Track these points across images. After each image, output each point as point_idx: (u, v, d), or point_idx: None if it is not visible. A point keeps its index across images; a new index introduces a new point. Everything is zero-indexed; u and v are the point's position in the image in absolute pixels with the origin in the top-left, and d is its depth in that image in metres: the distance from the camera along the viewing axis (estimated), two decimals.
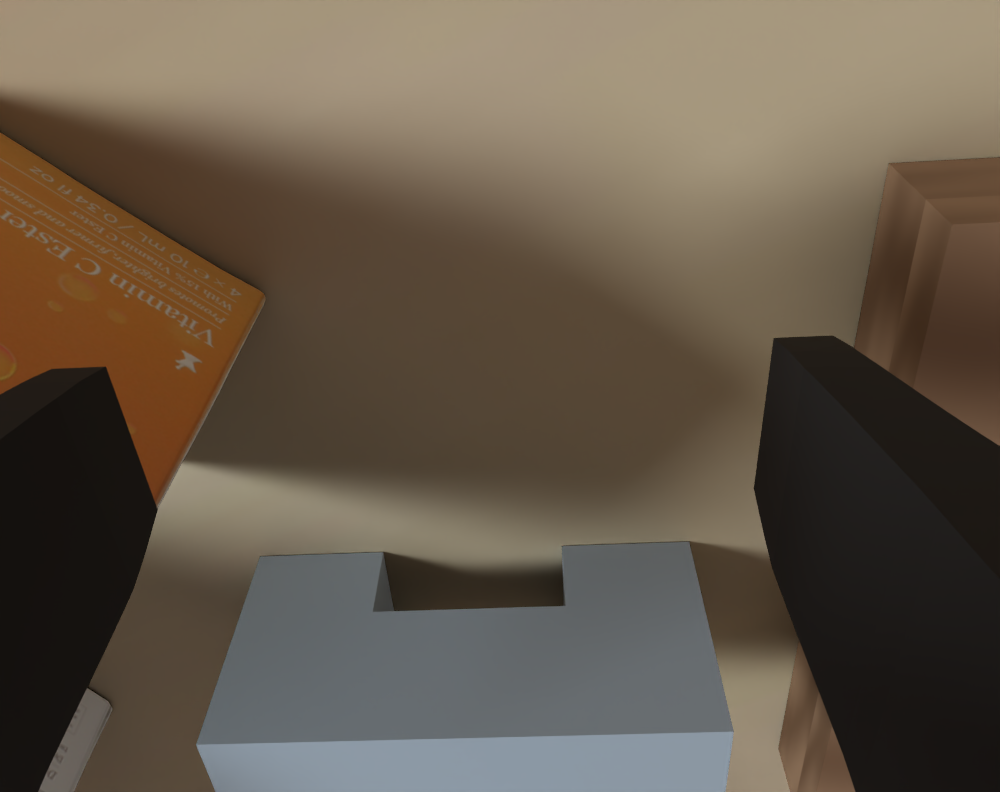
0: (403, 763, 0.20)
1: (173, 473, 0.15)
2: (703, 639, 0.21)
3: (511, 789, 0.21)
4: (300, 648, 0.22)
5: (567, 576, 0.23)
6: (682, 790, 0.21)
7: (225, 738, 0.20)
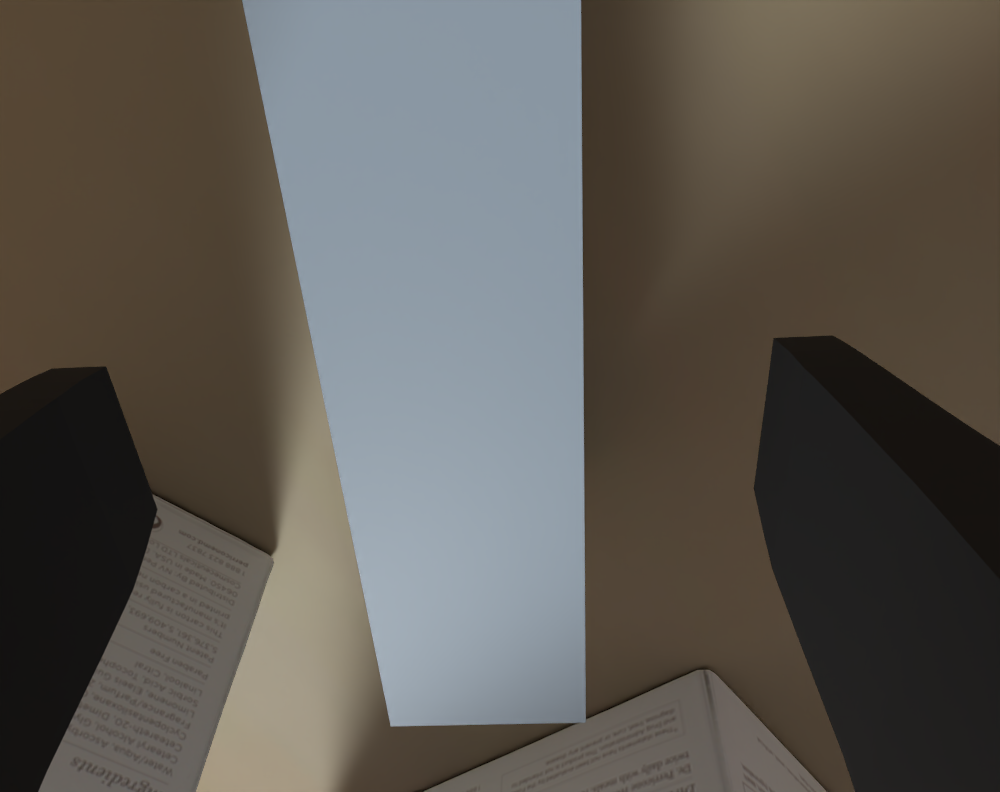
0: (413, 496, 0.11)
1: None
2: None
3: (492, 323, 0.10)
4: None
5: None
6: None
7: None
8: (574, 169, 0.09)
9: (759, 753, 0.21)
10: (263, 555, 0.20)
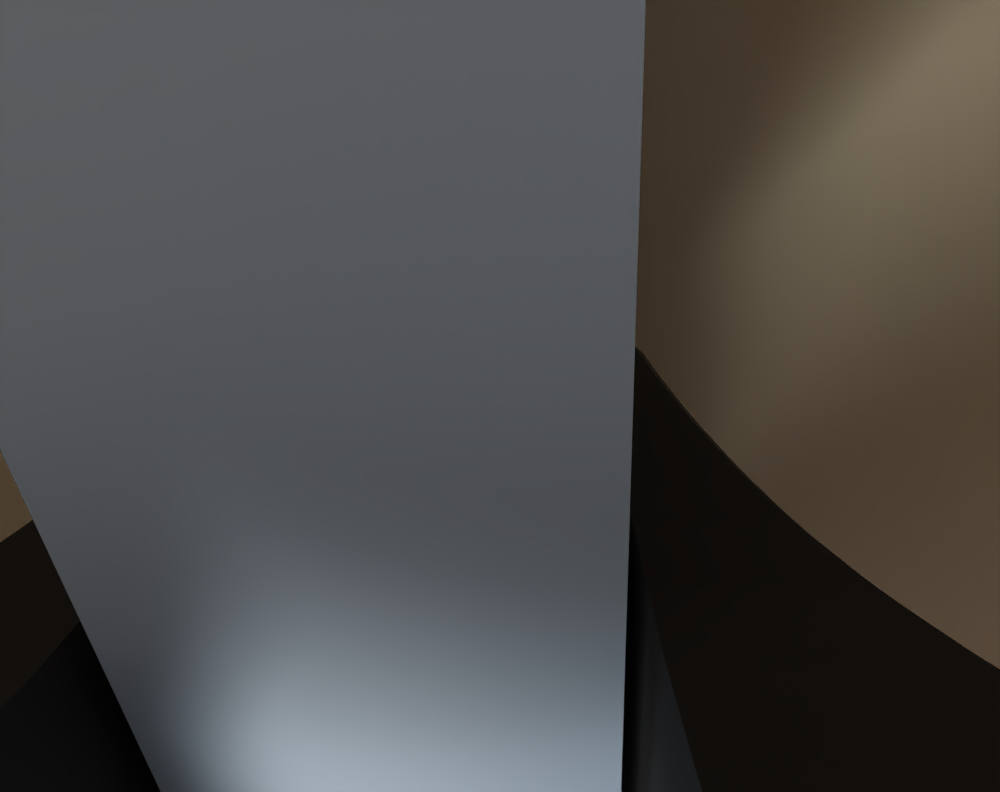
0: None
1: None
2: None
3: (462, 737, 0.05)
4: None
5: None
6: (416, 45, 0.03)
7: None
8: (614, 524, 0.04)
9: None
10: None
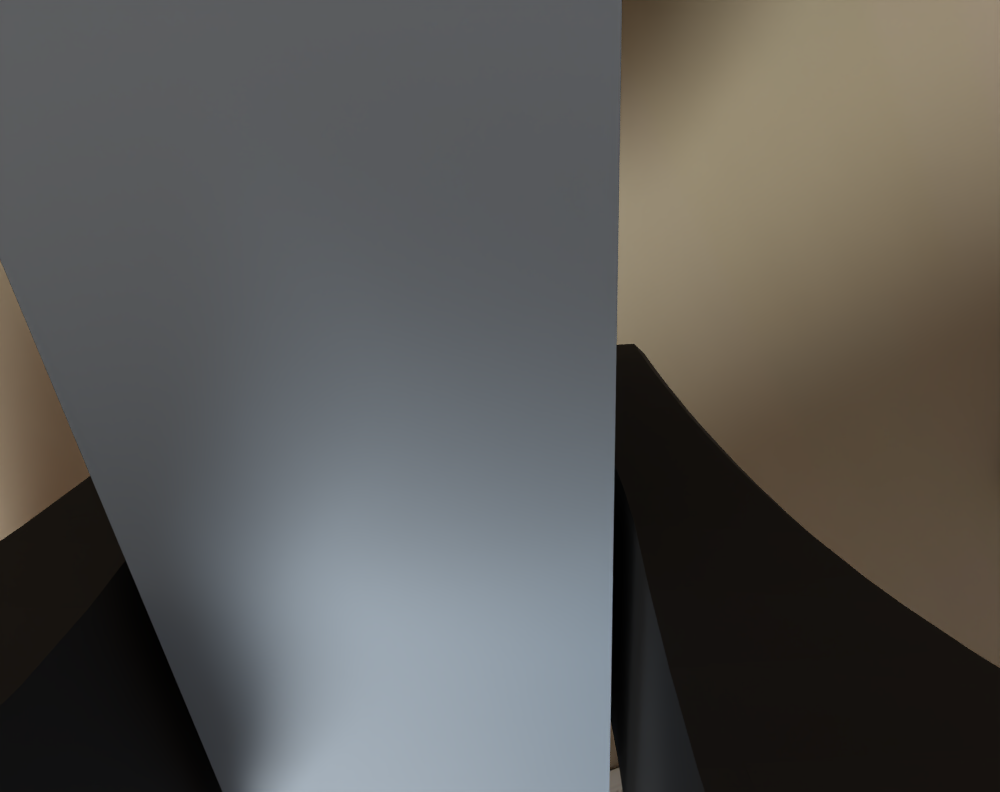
0: None
1: None
2: None
3: (467, 681, 0.06)
4: None
5: None
6: (430, 82, 0.04)
7: None
8: (599, 488, 0.05)
9: None
10: None
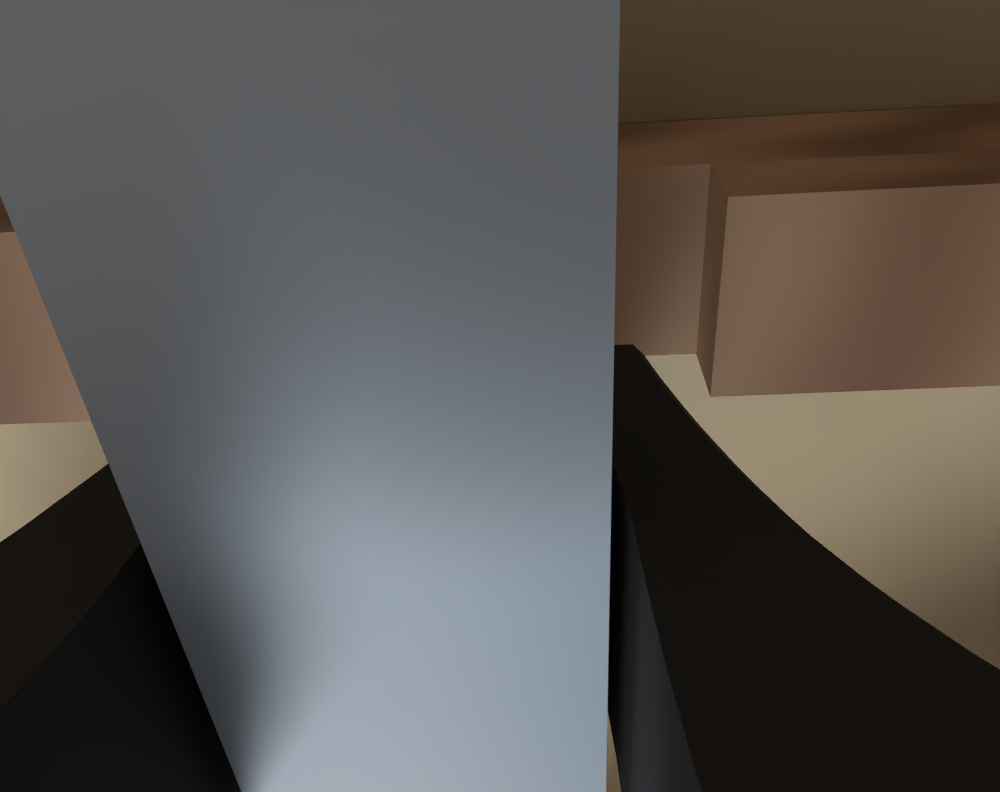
0: None
1: None
2: None
3: (470, 668, 0.06)
4: None
5: None
6: (439, 103, 0.04)
7: None
8: (598, 482, 0.05)
9: None
10: None
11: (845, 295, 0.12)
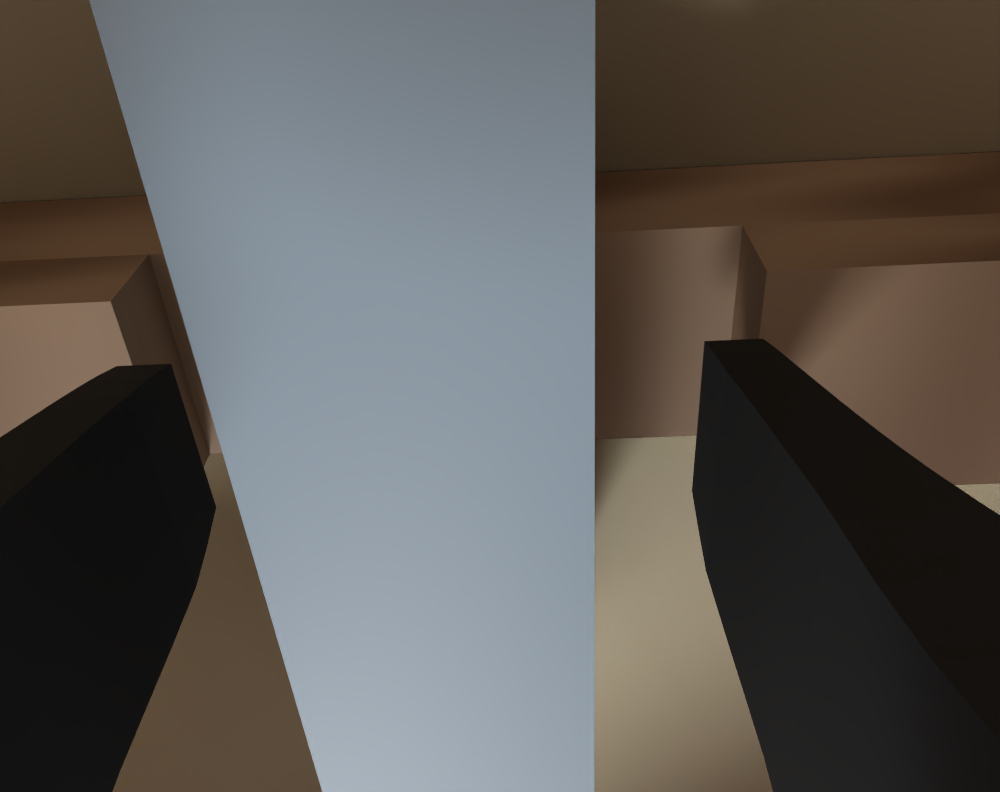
0: (380, 697, 0.09)
1: None
2: None
3: (478, 514, 0.07)
4: None
5: None
6: (457, 1, 0.05)
7: None
8: (584, 334, 0.06)
9: None
10: None
11: (902, 380, 0.10)
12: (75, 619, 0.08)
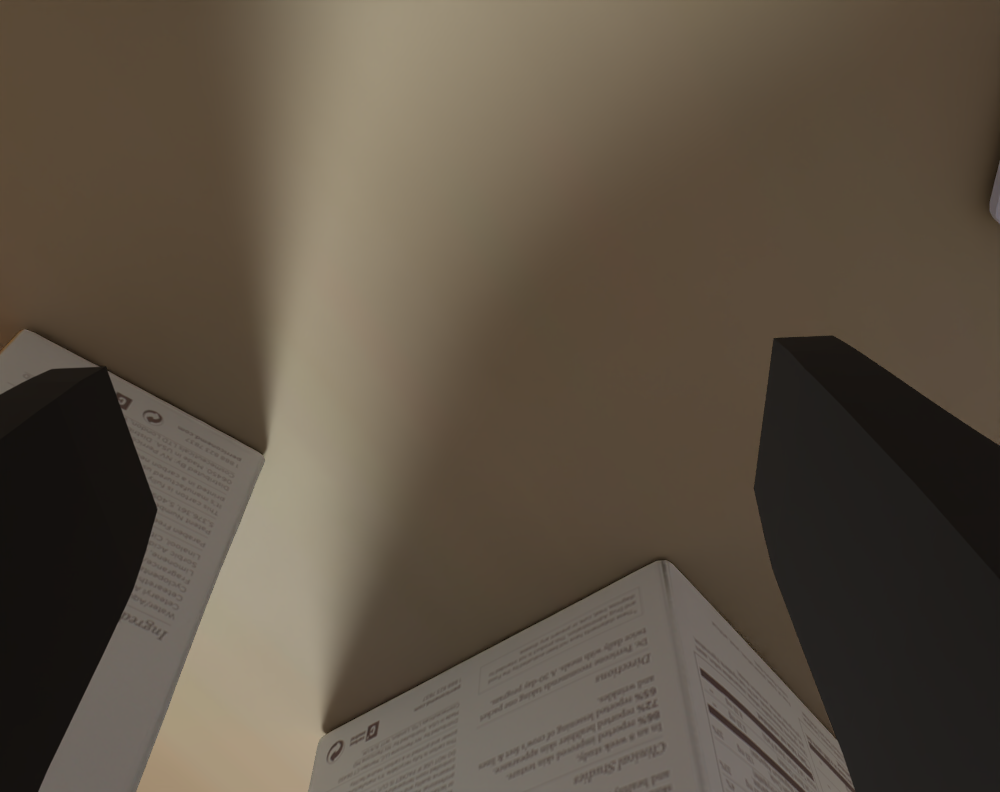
0: None
1: None
2: None
3: None
4: None
5: None
6: None
7: None
8: None
9: (713, 633, 0.23)
10: (255, 453, 0.22)
11: None
12: None
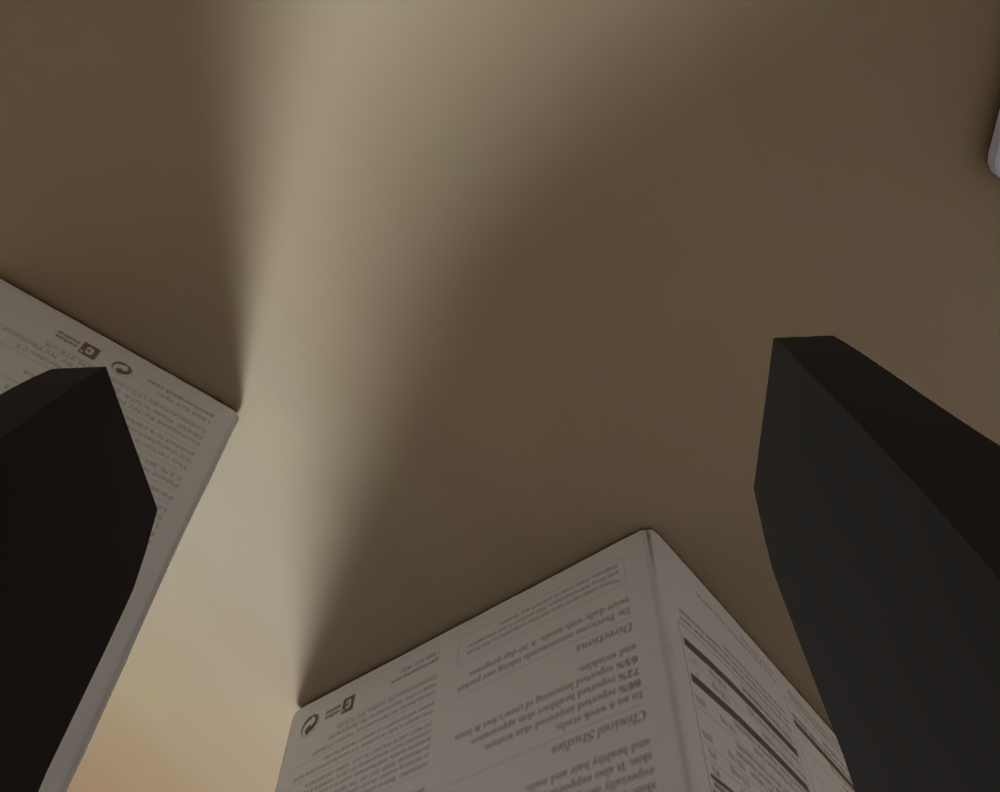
0: None
1: None
2: None
3: None
4: None
5: None
6: None
7: None
8: None
9: (698, 604, 0.23)
10: (229, 410, 0.21)
11: None
12: None
